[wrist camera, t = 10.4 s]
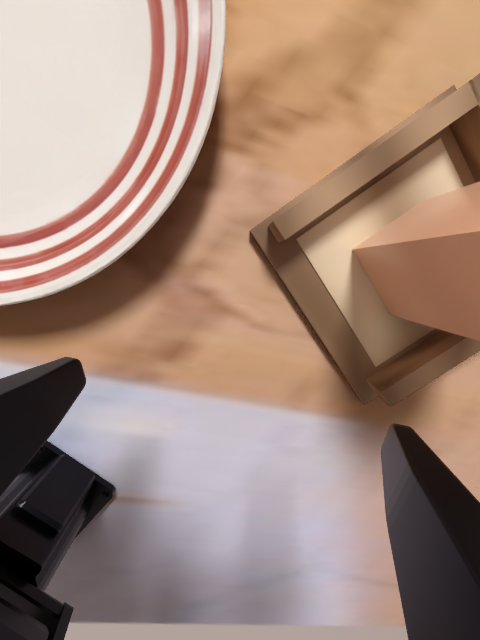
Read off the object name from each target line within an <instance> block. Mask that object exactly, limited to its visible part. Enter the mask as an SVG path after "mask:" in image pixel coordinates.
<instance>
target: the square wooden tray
mask: <svg viewBox="0 0 480 640" xmlns="http://www.w3.org/2000/svg"><path fill="white" fill-rule="evenodd" d="M479 181H480V74H478V75H477V76H476V77H474V78H473V79H471V80H470V81H469V82H467V83H466V84H464V85H463V86H462V87H460V88H459V89H457V90H456V87H455V85H453V86H452V87H450V88H449V89H448V90H446V91H445V92H443V93H442V94H441V95H439V96H438V97H436V98H435V99H434V100H432V101H431V102H429V103H428V104H427V105H425V106H424V107H422V108H421V109H420V110H418V111H417V112H415V113H414V114H413V115H411V116H410V117H408V118H407V119H406V120H404V121H403V122H401V123H400V124H399V125H397V126H396V127H394V128H393V129H392V130H390V131H389V132H387V133H386V134H385V135H383V136H382V137H380V138H379V139H378V140H376V141H375V142H373V143H372V144H371V145H369V146H368V147H366V148H365V149H364V150H362V151H361V152H359V153H358V154H357V155H355V156H354V157H352V158H351V159H350V160H348V161H347V162H345V163H344V164H343V165H341V166H340V167H338V168H337V169H336V170H334V171H333V172H331V173H330V174H329V175H327V176H326V177H324V178H323V179H322V180H320V181H319V182H317V183H316V184H315V185H313V186H312V187H310V188H309V189H307V190H306V191H305V192H303V193H302V194H300V195H299V196H298V197H296V198H295V199H293V200H292V201H291V202H289V203H288V204H286V205H285V206H284V207H282V208H281V209H279V210H278V211H277V212H275V213H274V214H272V215H271V216H270V217H268V218H267V219H265V220H264V221H263V222H261V223H260V224H258V225H257V226H256V227H254V228H253V229H251V230H250V233H251V234H252V236H253V238H254V239H255V241H256V242H257V244H258V245H259V247H260V248H261V250H262V251H263V253H264V254H265V256H266V257H267V259H268V260H269V262H270V263H271V265H272V267H273V268H274V270H275V271H276V273H277V274H278V276H279V277H280V279H281V280H282V282H283V283H284V285H285V286H286V288H287V289H288V291H289V293H290V294H291V296H292V297H293V299H294V300H295V302H296V303H297V305H298V306H299V308H300V309H301V311H302V312H303V314H304V315H305V317H306V318H307V320H308V322H309V323H310V325H311V326H312V328H313V329H314V331H315V332H316V334H317V335H318V337H319V338H320V340H321V341H322V343H323V344H324V346H325V348H326V349H327V351H328V352H329V354H330V355H331V357H332V358H333V360H334V361H335V363H336V364H337V366H338V367H339V369H340V370H341V372H342V373H343V375H344V377H345V378H346V380H347V381H348V383H349V384H350V386H351V387H352V389H353V390H354V392H355V393H356V395H357V396H358V398H359V399H360V401H361V402H362V403H363V404H364V405H365V404H367V403H368V402H370V401H371V400H373V399H374V398H376V397H378V396H379V397H380V398H381V399H382V400H383V401H384V402H386V403H387V404H388V405H389V406H390V407H391V406H393V405H394V404H396V403H398V402H399V401H401V400H402V399H404V398H405V397H407V396H409V395H410V394H412V393H413V392H415V391H417V390H418V389H420V388H421V387H423V386H424V385H426V384H428V383H429V382H431V381H432V380H434V379H436V378H437V377H439V376H440V375H442V374H444V373H445V372H447V371H448V370H450V369H451V368H453V367H455V366H456V365H458V364H459V363H461V362H463V361H464V360H466V359H467V358H469V357H470V356H472V355H474V354H475V353H477V352H478V351H480V341H477V340H474V339H471V338H467V337H464V336H460V335H457V334H454V333H450V332H447V331H443V330H440V329H437V328H433V327H430V326H426V325H423V324H420V323H416V322H413V321H409V320H406V319H403V318H399V317H396V316H392V315H390V313H389V311H388V310H387V308H386V306H385V305H384V303H383V301H382V299H381V298H380V296H379V294H378V293H377V291H376V289H375V288H374V286H373V284H372V282H371V281H370V279H369V277H368V276H367V274H366V272H365V271H364V269H363V267H362V265H361V264H360V262H359V260H358V259H357V257H356V255H355V254H354V252H353V250H352V249H353V248H355V247H356V246H358V245H359V244H361V243H362V242H364V241H365V240H367V239H368V238H369V237H371V236H372V235H374V234H375V233H377V232H378V231H380V230H381V229H383V228H384V227H385V226H387V225H388V224H390V223H391V222H393V221H394V220H396V219H397V218H399V217H400V216H401V215H403V214H404V213H406V212H407V211H409V210H410V209H412V208H413V207H415V206H416V205H417V204H419V203H420V202H422V201H424V200H427V199H430V198H433V197H436V196H439V195H441V194H444V193H447V192H450V191H453V190H456V189H459V188H462V187H465V186H468V185H471V184H474V183H477V182H479Z"/></svg>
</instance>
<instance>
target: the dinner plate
mask: <svg viewBox="0 0 480 640" xmlns="http://www.w3.org/2000/svg"><path fill="white" fill-rule="evenodd" d="M225 35H226V0H0V306H4V305H11V304H17V303H22V302H26V301H31V300H35V299H39V298H43V297H46V296H49V295H52V294H55V293H58V292H60V291H63V290H66V289H68V288H70V287H72V286H74V285H76V284H79V283H81V282H82V281H84V280H86V279H88V278H90V277H92V276H94V275H96V274H97V273H99V272H100V271H102V270H103V269H105V268H106V267H108V266H109V265H111V264H112V263H113V262H115V261H116V260H118V259H119V258H120V257H122V256H123V255H124V254H125V253H126V252H127V251H128V250H129V249H131V248H132V247H133V246H134V245H135V244H136V243H137V242H138V241H139V240H140V239H141V238H143V237H144V236H145V235H146V234H147V232H148V231H149V230H150V229H151V228H152V227H153V226H154V225H155V224H156V222H157V221H158V220H159V219H160V217H161V216H162V215H163V214H164V212H165V211H166V210H167V208H168V207H169V206H170V205H171V203H172V202H173V201H174V199H175V197H176V196H177V194H178V193H179V191H180V190H181V188H182V186H183V185H184V183H185V181H186V180H187V178H188V176H189V174H190V172H191V170H192V168H193V166H194V164H195V162H196V159H197V157H198V155H199V153H200V150H201V148H202V146H203V143H204V140H205V137H206V135H207V132H208V129H209V126H210V123H211V119H212V116H213V112H214V109H215V104H216V100H217V95H218V90H219V86H220V80H221V73H222V67H223V58H224V47H225Z"/></svg>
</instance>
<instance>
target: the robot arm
mask: <svg viewBox="0 0 480 640" xmlns="http://www.w3.org/2000/svg"><path fill="white" fill-rule="evenodd" d="M85 384H86V378H85V374H84V371H83V368H82V364H81V362H80V361H79V360H78V359H75V358H70V357H64V358H61V359H58V360H55V361H52V362H49V363H46V364H43V365H40V366H37V367H34V368H31V369H28V370H25V371H22V372H19V373H16V374H14V375H11V376H8V377H5V378H2V379H0V640H64V637H65V633H66V631H67V628H68V624H69V621H70V618H71V615H72V612H73V607H71V606H70V605H68V604H67V603H64V604H62V603H61V602H59V601H58V600H56V599H54V598H53V597H51V596H50V595H48V594H47V593H45V592H44V591H45V589H46V587H47V586H48V584H49V582H50V580H51V579H52V577H53V575H54V573H55V571H56V570H57V568H58V566H59V564H60V563H61V561H62V559H63V557H64V556H65V554H66V552H67V550H68V549H69V547H70V545H71V543H72V542H73V540H74V539H75V538H76V537H77V535H78V534H79V533H80V532H81V531H82V530H83V529H84V528H85V527H86V525H87V524H88V523H89V522H90V521H91V520H92V519H93V518H94V517H95V516H96V514H97V513H98V512H99V511H100V510H101V509H102V508H103V507H104V506H105V505H106V503H107V502H108V501H109V500H110V499H111V498H112V496H113V494H114V492H115V488H114V486H113V485H111V484H110V483H109V482H107V481H106V480H104V479H103V478H101V477H100V476H98V475H97V474H95V473H94V472H92V471H91V470H89V469H88V468H86V467H85V466H83V465H82V464H80V463H79V462H77V461H76V460H74V459H73V458H71V457H70V456H68V455H67V454H66V453H64V452H63V451H61V450H60V449H58V448H57V447H55V446H54V445H52V444H51V443H49V442H48V441H46V440H47V439H48V438H49V437H50V436H51V434H52V433H53V432H54V430H55V429H56V428H57V426H58V425H59V423H60V422H61V421H62V419H63V418H64V416H65V415H66V413H67V412H68V410H69V409H70V407H71V406H72V404H73V403H74V402H75V400H76V399H77V397H78V396H79V394H80V393H81V391H82V390H83V388H84V387H85ZM40 448H42V449H40ZM381 461H382V473H383V486H384V499H385V511H386V521H387V527H388V533H389V538H390V544H391V549H392V554H393V560H394V565H395V570H396V576H397V581H398V586H399V592H400V597H401V602H402V608H403V613H404V618H405V624H406V629H407V634H408V640H480V502H479V501H478V500H477V499H476V498H475V497H474V496H473V495H472V494H471V492H470V491H469V490H468V489H467V488H466V487H465V486H464V485H463V484H462V483H461V481H460V480H459V479H458V478H457V477H456V476H455V475H454V474H453V473H452V472H451V471H450V469H449V468H448V467H447V466H446V465H445V464H444V463H443V462H442V461H441V460H440V458H439V457H438V456H437V455H436V454H435V453H434V452H433V451H432V450H431V449H430V448H429V446H428V445H427V444H426V443H425V442H424V441H423V440H422V439H421V438H420V437H419V435H418V434H417V433H416V432H415V431H414V430H413V429H412V428H410V427H408V426H404V425H399V424H392V425H391V426H390V427H389V429H388V432H387V434H386V437H385V439H384V442H383V444H382V448H381ZM105 491H107V492H109V493H107V492H105Z"/></svg>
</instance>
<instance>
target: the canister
mask: <svg viewBox="0 0 480 640" xmlns="http://www.w3.org/2000/svg"><path fill="white" fill-rule="evenodd" d="M352 250H353V252H354V254H355V255H356V257H357V259H358V260H359V262H360V264H361V265H362V267H363V269H364V271H365V272H366V274H367V276H368V277H369V279H370V281H371V282H372V284H373V286H374V288H375V289H376V291H377V293H378V294H379V296H380V298H381V299H382V301H383V303H384V305H385V306H386V308H387V310H388V311H389V313H390V315H392V316H396V317H399V318H403V319H406V320H409V321H413V322H416V323H420V324H423V325H426V326H430V327H433V328H437V329H440V330H443V331H447V332H450V333H454V334H457V335H460V336H464V337H467V338H471V339H474V340H477V341H480V181H479V182H477V183H474V184H471V185H468V186H465V187H462V188H459V189H456V190H453V191H450V192H447V193H444V194H441V195H439V196H436V197H433V198H430V199H427V200H424V201H422V202H420V203H419V204H417V205H416V206H415V207H413V208H412V209H410V210H409V211H407V212H406V213H404V214H403V215H401V216H400V217H399V218H397V219H396V220H394V221H393V222H391V223H390V224H388V225H387V226H385V227H384V228H383V229H381V230H380V231H378V232H377V233H375V234H374V235H372V236H371V237H369V238H368V239H367V240H365V241H364V242H362V243H361V244H359V245H358V246H356V247H355V248H353V249H352Z"/></svg>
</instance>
